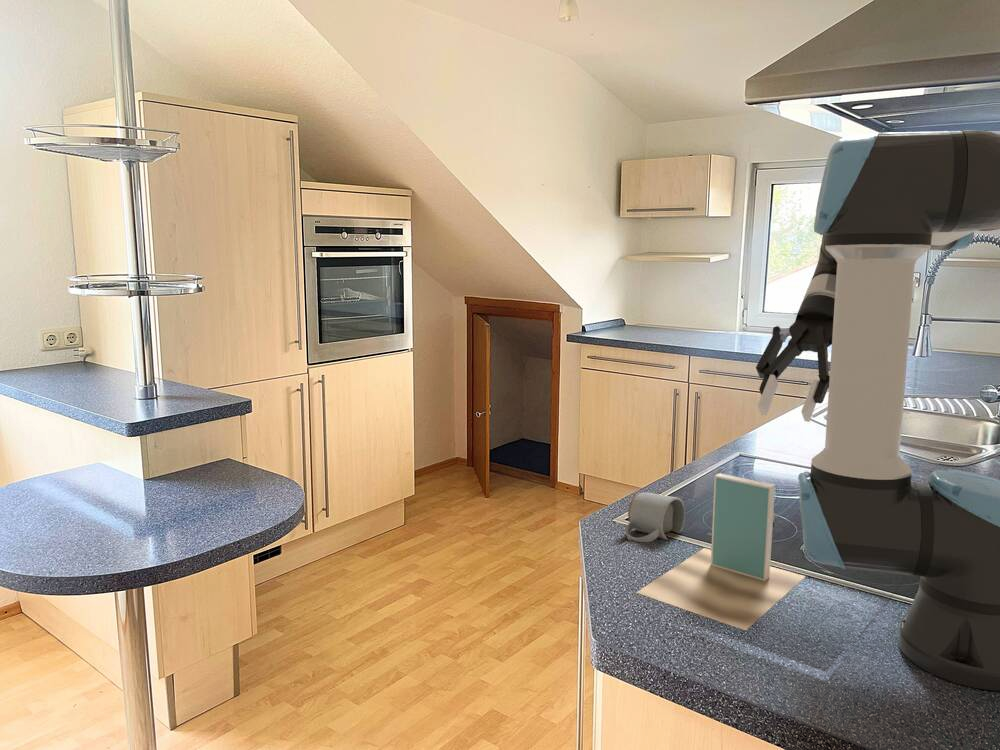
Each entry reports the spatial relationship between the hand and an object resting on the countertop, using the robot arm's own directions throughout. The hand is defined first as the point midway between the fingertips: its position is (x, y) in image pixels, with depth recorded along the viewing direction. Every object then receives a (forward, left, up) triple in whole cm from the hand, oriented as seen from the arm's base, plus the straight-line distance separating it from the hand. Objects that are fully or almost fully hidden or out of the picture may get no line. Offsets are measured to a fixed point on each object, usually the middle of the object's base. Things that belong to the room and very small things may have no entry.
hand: (783, 413), depth 123 cm
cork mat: (-11, +14, -24) cm, 30 cm away
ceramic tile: (-7, +10, -24) cm, 26 cm away
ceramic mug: (+11, +18, -25) cm, 32 cm away
